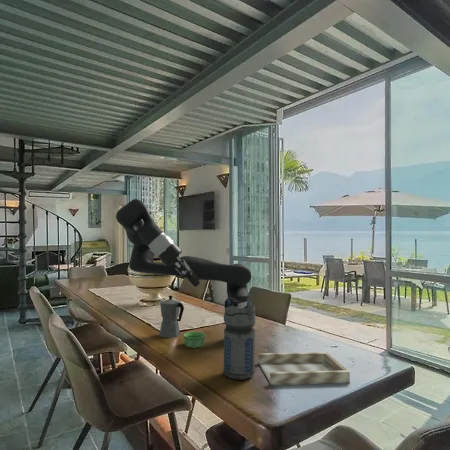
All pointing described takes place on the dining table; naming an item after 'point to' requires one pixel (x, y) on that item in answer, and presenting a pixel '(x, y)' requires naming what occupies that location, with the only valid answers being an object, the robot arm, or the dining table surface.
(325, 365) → the cream flat rectangular tray
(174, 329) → the coffeepot
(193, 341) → the ramekin
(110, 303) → the dining table surface
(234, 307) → the beverage bottle
